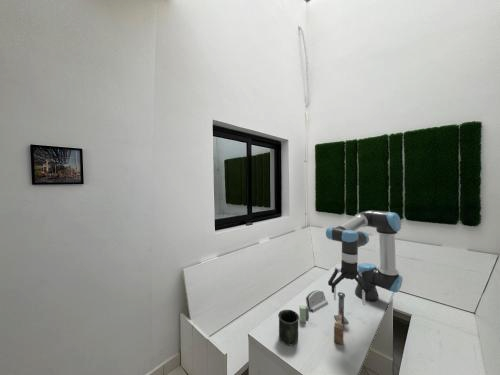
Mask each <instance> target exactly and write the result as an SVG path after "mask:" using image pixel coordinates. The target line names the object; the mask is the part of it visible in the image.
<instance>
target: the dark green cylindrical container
mask: <svg viewBox="0 0 500 375" xmlns="http://www.w3.org/2000/svg"><path fill="white" fill-rule="evenodd" d="M277 317H278V338H279V340H280V341H281V343H283V344H284V345H287V346H293V345H295V344H296V343H297V342H298V340H299V321H300V319H299V317H300V314H298V313H297V312H296V311H295V310H292V309H283V310H280V311H279V312H278V315H277Z"/></svg>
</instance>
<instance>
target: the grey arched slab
mask: <svg viewBox="0 0 500 375" xmlns="http://www.w3.org/2000/svg"><path fill="white" fill-rule="evenodd" d="M305 303H306V306H308V308H309V310H310V311H312V313H316V312H318V311H320V310H321V309H323V308H324V307H326V306H329V301H328V300H327V298H326V296H325V293H324V291H323V290H313V291H311V292H309V293H308V294H307V295H306V296H305Z"/></svg>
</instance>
